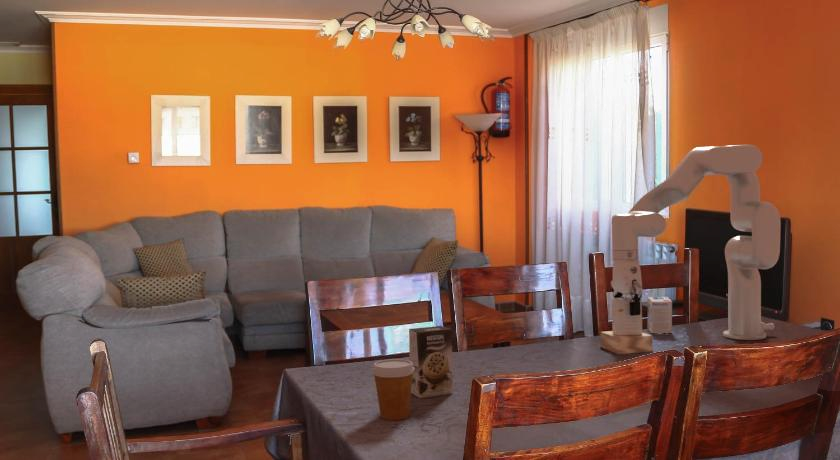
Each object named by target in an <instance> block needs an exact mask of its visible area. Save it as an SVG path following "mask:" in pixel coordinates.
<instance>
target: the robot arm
mask: <svg viewBox="0 0 840 460" xmlns="http://www.w3.org/2000/svg"><path fill="white" fill-rule="evenodd" d="M762 163H763V153H762V152H761V150H760V149H759V147H757V146H756V145H753V144H736V145H735V144H732V145H722V146H718V145H716V146H699V147H698V146H697V147H695V148H693V149H691V150H690V151H689V152H687V154H686V155H685V156H684V158H682V159H681V161H680V162H679V163H678V164H677V166H676V167H675V168H674V170H673V171H672V172H671V173H670V174H669V175H668V177H666V179H665V180H663V182H661V183H659V184H658V185H657V186H655V187H654V188H653V189H651V190H650V191H648V192H646V193H645V194H644V195H642V197H640V199H639V200H638V201H636V203H635V204H634V205H633V206H632V208H630V210H629V211H628V213H616V214H614V215H612V216H611V245H612V246H611V250H612V251H611V252H612V256H611V257H612V262H613V263H612V280H611V281H610V286H611V291H612V298H625V297H624V296H623V295H626V296H628V297H629V298H630V300H631V302H629V306H630V315H631V316H634V315H640V302H641V300H642V297H643V294H642V293H643V291H644V289H643V281H642V280H643V279H642V271H641V266H640V265H641V264H640V261H639V238H640V237H641V238H643V237H644V238H656V237H659V236H661V235H662V234H663V233H664V232H665V231H666V228H667V221H666V218H665V217H664V215H661V211H663V210H665V209H667V208H668V207H671V206H674V205H678V204H679V203H682V202H683V201H685V200H687V199H688V198H690V196H691V195H692V194H693V193H694V191H695V190H696V188H697V187H699V185H700V184H701V183H702V182H703V180H704V179H705V178H706V177H707V176H718V175H719V176H722V175H723V176H725V177H726V179H727V181H728V183H729V187H730V224H731V226H732V227H733V229H735V230H737V231H740V232H745V233H747V232H748V233H751V235H736V236H734V237H732V238H730V239H729V240H728V241H727V243H726V245H725V247H724V256H725V257H724V258H725V262H726V268H727V283H728V284H727V288H728V289H727V291H728V293H727V295H728V296H727V301H728V302H727V303H728V305H727V306H728V307H727V310H728V312H727V315H728V316H727V317H728V318H727V320H728V322H727V323H728V325H727V327H728V329H727V330H724V331H723V332H722V335H723V337H724V338H727V339H731V340H737V341H738V340H739V341H740V340H741V341H756V340H757V341H758V340H763V339H766V338H767V333H766V332H765V331H766V330H774V329H775V324H774V323H773V322H770V323H769V322H767V323H765V322H763V321H762V305H761V304H762V296H761V295H762V279H761V274H760V272H759V269H760V270H768V269H771V268H773V267H774V266H775V265H776V264H777V262H778V261H779V258H780V253H781V252H780V251H781V229H782V228H781V227H782V226H781V224H782V223H781V221H782V220H781V216H780V215H781V214H780V212H779V209H778V208H777V207H776V206H775V205H774V204H773V203H771V202H768V201H761V185H760V180H759V177H758V175H757V173H756V171H757V170H759V168H760V167H761V165H762Z"/></svg>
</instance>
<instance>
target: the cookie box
mask: <svg viewBox="0 0 840 460" xmlns="http://www.w3.org/2000/svg"><path fill="white" fill-rule="evenodd" d="M452 332H453V331H452V329H451V328H449V327H446V326H442V325H437V326H436V325H435V326H427V327H417V328H416V327H415V328H409V329H408V337H409V338H408V339H409V340H408V342H409V343H408V344H409V346H408V347H409V349H408V350H409V356H408V357H409V361H411V362H412V363H413V367H414V368H415V370H414V372H413V375H412V386H411V394H412V395H414V396H416V397H417V398H419V399H422V398H429V397H430V398H431V397H437V396H445V395H452V394H454V393H453V392H454V390H453V389H454V387H453V385H454V383H453V345H452V344H453V343H452V340H453V339H452Z"/></svg>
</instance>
